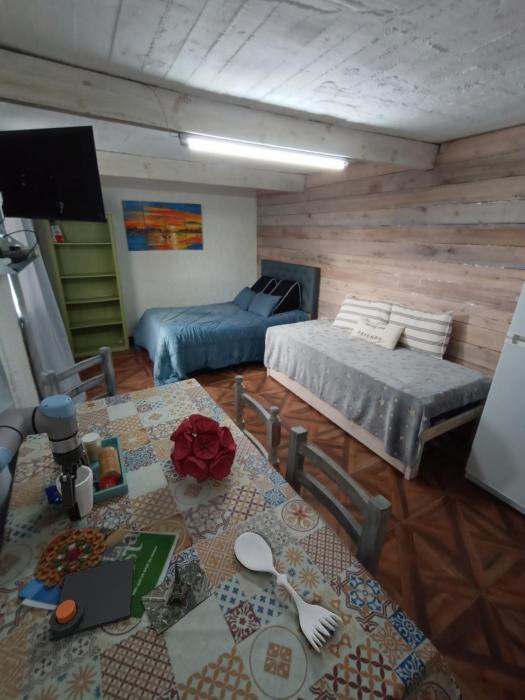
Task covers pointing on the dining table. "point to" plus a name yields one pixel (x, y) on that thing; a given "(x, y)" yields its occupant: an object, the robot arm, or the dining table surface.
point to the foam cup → (82, 489)
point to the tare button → (66, 611)
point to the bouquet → (202, 449)
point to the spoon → (259, 558)
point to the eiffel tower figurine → (177, 595)
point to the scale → (95, 598)
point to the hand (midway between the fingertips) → (80, 503)
